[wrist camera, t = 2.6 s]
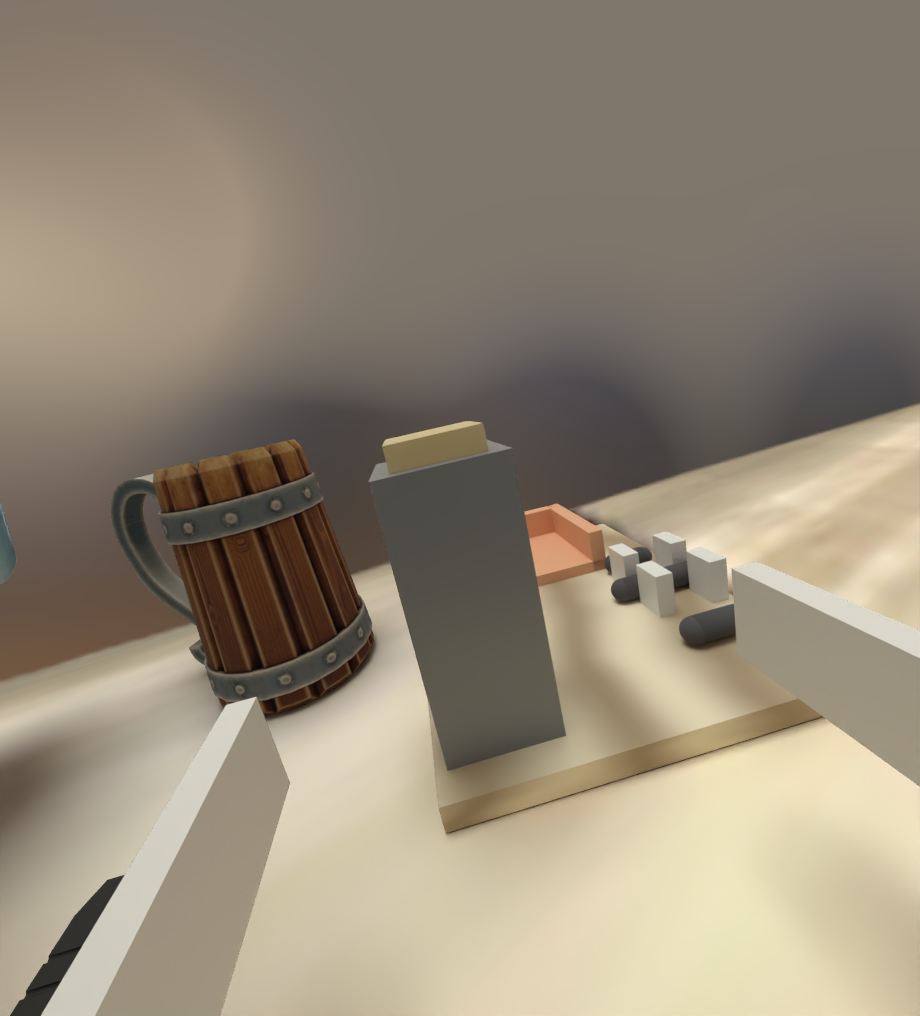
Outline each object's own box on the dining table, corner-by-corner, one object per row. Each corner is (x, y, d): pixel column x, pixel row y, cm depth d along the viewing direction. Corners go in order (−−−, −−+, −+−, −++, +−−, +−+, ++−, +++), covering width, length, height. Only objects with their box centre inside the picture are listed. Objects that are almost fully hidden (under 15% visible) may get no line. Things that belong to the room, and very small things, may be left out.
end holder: (474, 603, 31) (465, 564, 30) (458, 561, 39) (450, 530, 39) (607, 568, 31) (602, 529, 31) (562, 534, 40) (557, 503, 39)
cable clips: (659, 617, 24) (655, 577, 24) (612, 580, 29) (608, 546, 29) (728, 598, 24) (726, 558, 24) (670, 565, 30) (666, 531, 29)
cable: (675, 658, 21) (672, 632, 20) (583, 576, 31) (581, 558, 31) (826, 614, 21) (826, 589, 21) (687, 548, 32) (685, 531, 31)
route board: (446, 833, 16) (438, 808, 16) (418, 584, 39) (415, 572, 39) (876, 700, 18) (876, 674, 17) (604, 535, 41) (602, 523, 40)
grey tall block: (447, 771, 17) (360, 452, 14) (437, 692, 22) (370, 442, 19) (566, 735, 18) (506, 419, 15) (530, 666, 22) (480, 417, 19)
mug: (398, 619, 33) (345, 427, 30) (331, 721, 24) (238, 453, 20) (234, 633, 38) (170, 466, 34) (119, 725, 28) (11, 503, 24)
